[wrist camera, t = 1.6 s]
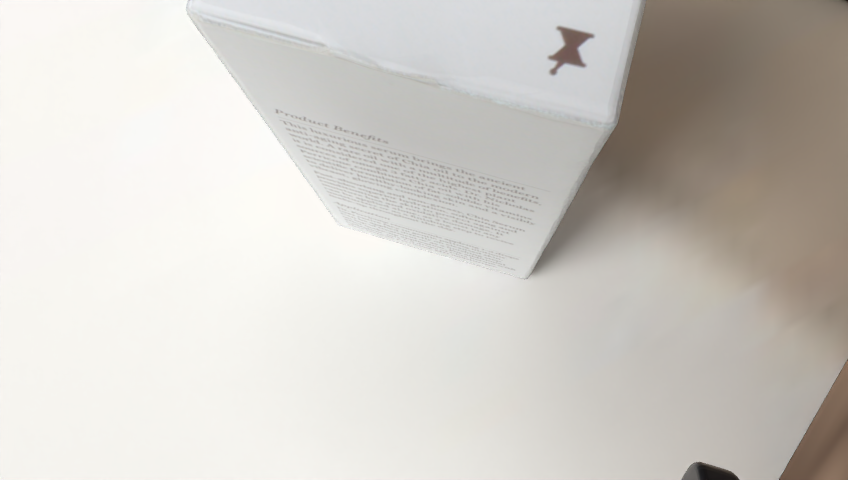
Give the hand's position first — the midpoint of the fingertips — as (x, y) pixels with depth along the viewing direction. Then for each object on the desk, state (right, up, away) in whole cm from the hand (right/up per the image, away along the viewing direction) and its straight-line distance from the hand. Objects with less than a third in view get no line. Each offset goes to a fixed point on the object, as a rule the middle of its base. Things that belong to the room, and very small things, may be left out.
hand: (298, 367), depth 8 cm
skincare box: (+2, +3, +13) cm, 14 cm away
